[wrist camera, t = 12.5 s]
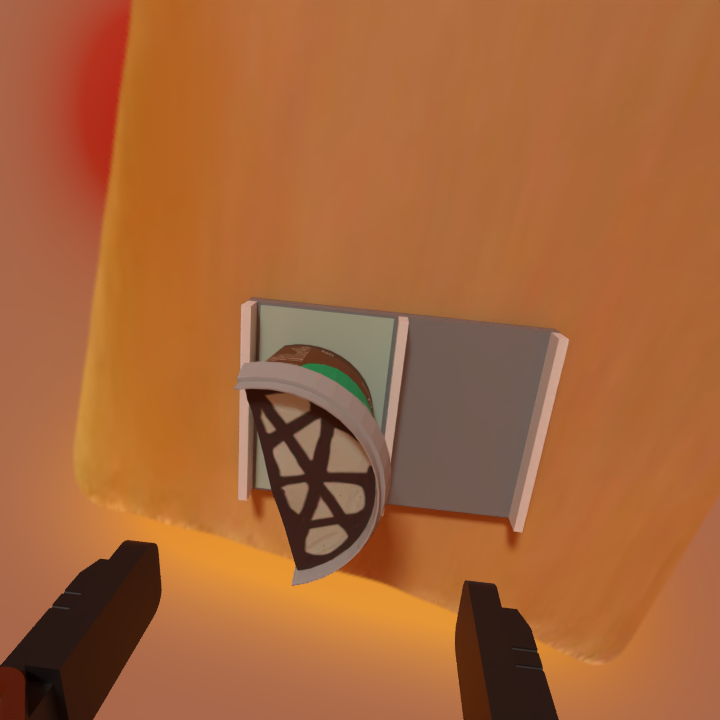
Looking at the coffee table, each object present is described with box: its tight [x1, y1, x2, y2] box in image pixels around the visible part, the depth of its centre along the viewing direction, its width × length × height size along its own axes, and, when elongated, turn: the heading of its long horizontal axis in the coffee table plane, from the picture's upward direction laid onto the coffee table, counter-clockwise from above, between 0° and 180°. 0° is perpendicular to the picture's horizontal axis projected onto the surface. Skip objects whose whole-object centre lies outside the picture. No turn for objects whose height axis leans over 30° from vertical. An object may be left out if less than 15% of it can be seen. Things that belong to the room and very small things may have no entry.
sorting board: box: [238, 298, 569, 532], centre depth 32 cm, size 20×14×2 cm
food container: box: [234, 344, 391, 586], centre depth 28 cm, size 12×6×10 cm, turn 11°
